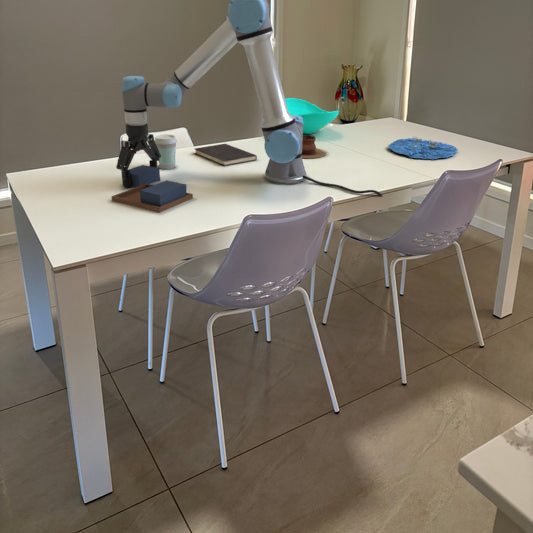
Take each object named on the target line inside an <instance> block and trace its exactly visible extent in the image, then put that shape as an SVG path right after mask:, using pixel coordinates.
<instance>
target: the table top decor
mask: <svg viewBox="0 0 533 533" xmlns="http://www.w3.org/2000/svg"><path fill="white" fill-rule="evenodd" d="M285 100H286V104H287V108H288V112H289V113H290V114H291V115H295V116H301V117H302V118H303V124H304V125H303V135H311V134H314V133H315V132H318V131H319V130H320V129H323V128H324V127H327V125H329V124H330V123H332V122H333V121H334V120H335V119H336V118H337V117H338V115H339V114H340V110H334V111H328V110H324V109H322V108H321V107H318V106H317V105H316V104H314V103H311V102H310V101H307V100H304V99H300V98H292V97H291V98H289V97H288V98H285Z"/></svg>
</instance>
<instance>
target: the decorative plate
mask: <svg viewBox="0 0 533 533" xmlns="http://www.w3.org/2000/svg"><path fill="white" fill-rule="evenodd" d="M387 148H388V150H390V151H392V152H394V153H396V154H398V155H405V156H407V157H409V158H411V159H423V160H438V159H444V158H445V159H447V158H450V157H453V156H455V155H456V153H457V152H458V151H459V149H458V148H457V147H455V145H453V144H448V143H444V142H441V141H439V142H438V141H435V140H432V139H430V140H427V139H423V138H422V139H421V138H418V137H417V136H413V137H412V138H410V137H407V138H401V139H400V138H399V139H396V140H394V141H392V142H391V143H390V144H388V145H387Z"/></svg>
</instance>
